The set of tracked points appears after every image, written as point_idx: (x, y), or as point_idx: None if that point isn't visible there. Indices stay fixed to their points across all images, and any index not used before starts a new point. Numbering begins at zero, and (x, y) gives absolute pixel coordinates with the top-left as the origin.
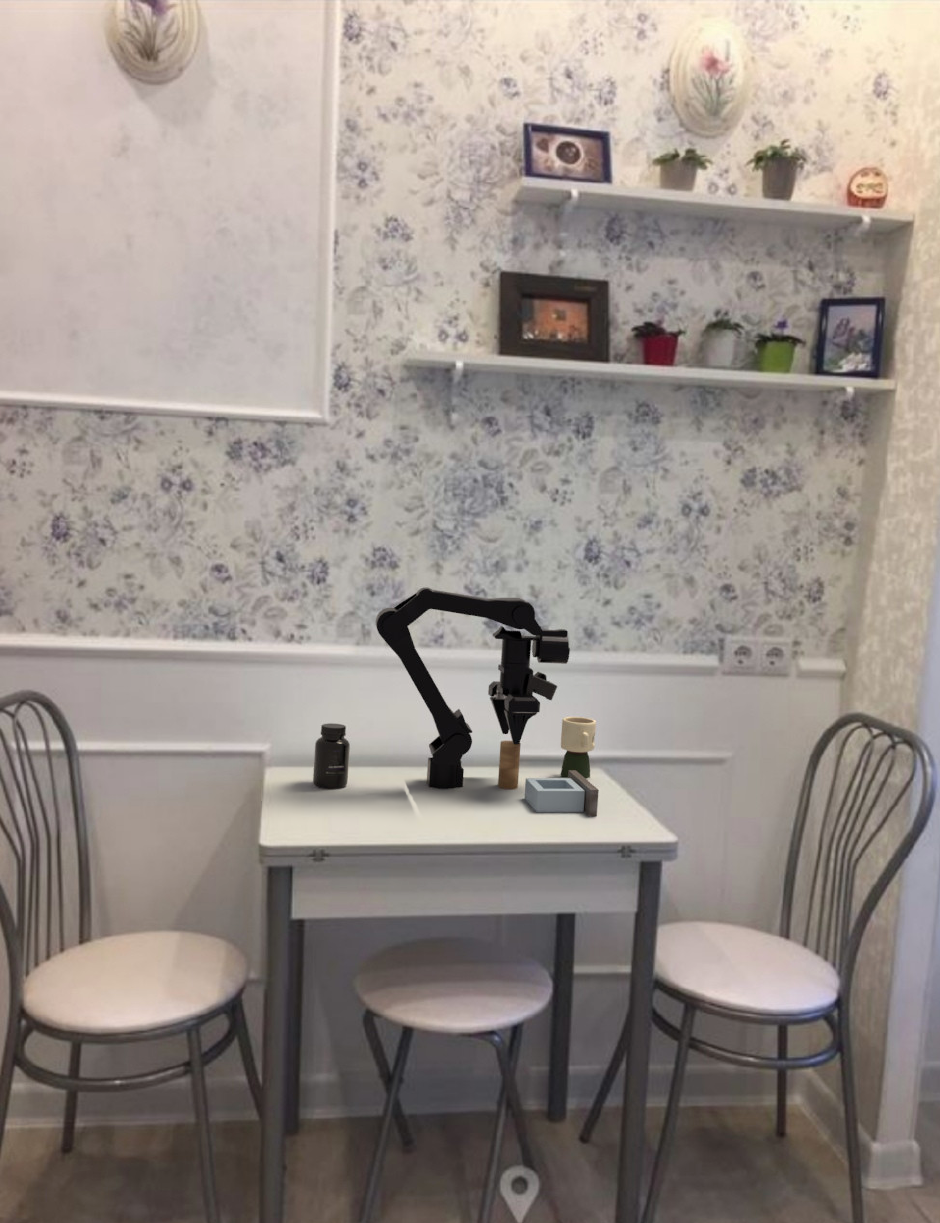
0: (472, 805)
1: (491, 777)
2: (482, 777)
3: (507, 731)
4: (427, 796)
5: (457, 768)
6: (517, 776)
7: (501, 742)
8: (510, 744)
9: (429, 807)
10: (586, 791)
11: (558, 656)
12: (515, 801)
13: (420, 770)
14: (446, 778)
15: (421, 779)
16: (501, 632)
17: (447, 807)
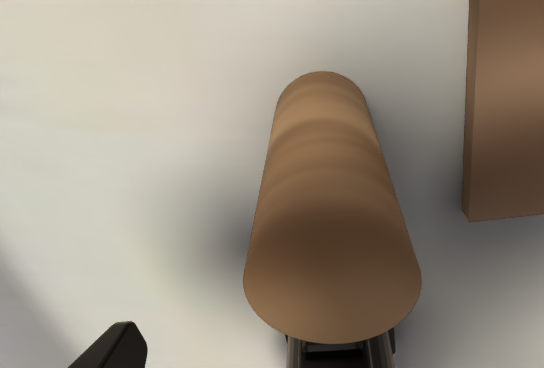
0: (527, 249)
1: (103, 168)
2: (119, 200)
3: (127, 342)
4: (409, 350)
5: (372, 365)
6: (354, 109)
7: (329, 339)
8: (393, 293)
9: (532, 351)
10: None
11: None
12: None
13: None
14: (393, 361)
15: (220, 355)
16: None
17: (540, 314)
